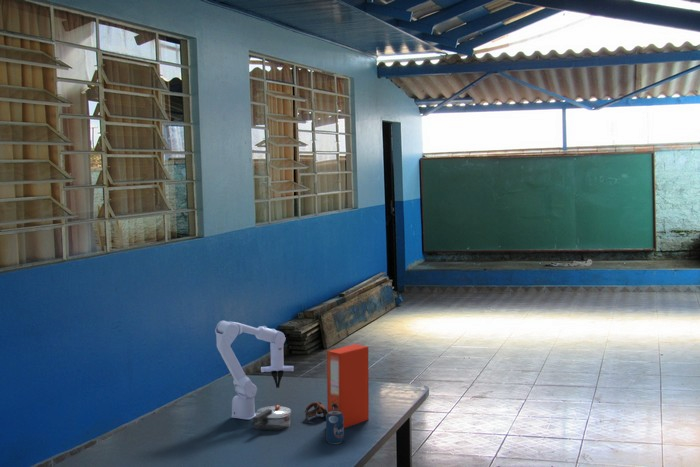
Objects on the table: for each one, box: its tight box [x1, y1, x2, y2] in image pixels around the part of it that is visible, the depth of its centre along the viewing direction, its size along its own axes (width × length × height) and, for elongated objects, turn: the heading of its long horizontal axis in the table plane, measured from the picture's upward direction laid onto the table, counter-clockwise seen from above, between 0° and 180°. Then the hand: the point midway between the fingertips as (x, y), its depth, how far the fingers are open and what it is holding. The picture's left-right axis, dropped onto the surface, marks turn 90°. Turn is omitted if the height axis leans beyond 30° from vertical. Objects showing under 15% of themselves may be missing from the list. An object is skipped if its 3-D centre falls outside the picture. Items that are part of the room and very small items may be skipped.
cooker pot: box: [253, 414, 291, 431], centre depth 352 cm, size 24×14×5 cm, turn 156°
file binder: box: [326, 343, 370, 429], centre depth 355 cm, size 8×17×32 cm, turn 137°
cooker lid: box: [252, 404, 292, 424], centre depth 351 cm, size 22×15×2 cm, turn 156°
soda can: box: [325, 410, 345, 445], centre depth 332 cm, size 7×7×12 cm
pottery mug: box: [304, 401, 328, 419], centre depth 364 cm, size 12×10×8 cm
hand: (277, 387), depth 375 cm, fingers closed
